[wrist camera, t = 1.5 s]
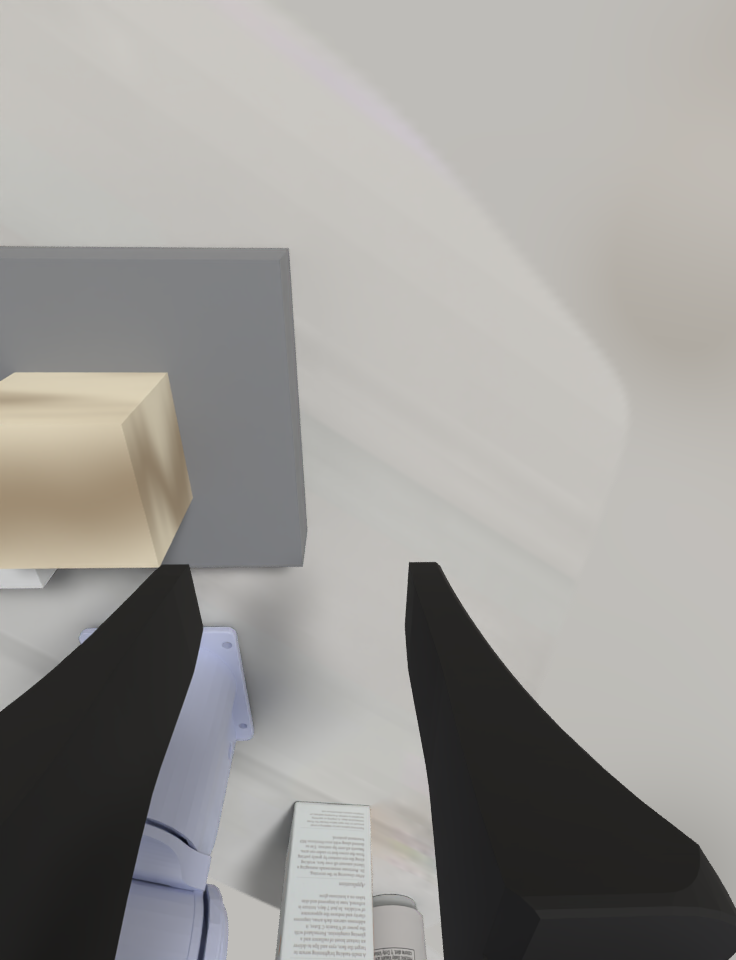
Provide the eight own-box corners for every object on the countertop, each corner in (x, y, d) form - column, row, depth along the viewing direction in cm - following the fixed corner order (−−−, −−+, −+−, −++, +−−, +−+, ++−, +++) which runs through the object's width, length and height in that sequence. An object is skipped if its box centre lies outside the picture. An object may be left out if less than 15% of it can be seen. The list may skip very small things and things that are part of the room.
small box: (355, 856, 41) (356, 1050, 32) (285, 852, 40) (265, 1049, 31) (372, 803, 37) (378, 1010, 28) (294, 798, 36) (274, 1008, 27)
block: (192, 497, 20) (159, 567, 16) (60, 498, 20) (-1, 568, 16) (167, 372, 17) (121, 424, 14) (14, 372, 17) (-71, 425, 14)
